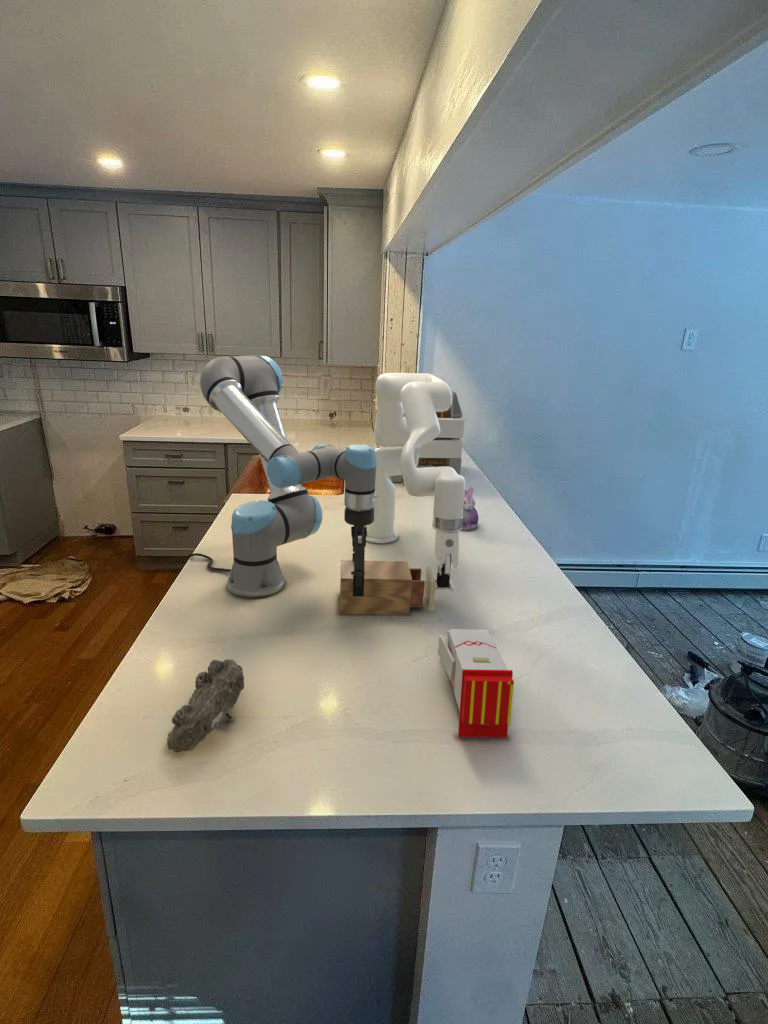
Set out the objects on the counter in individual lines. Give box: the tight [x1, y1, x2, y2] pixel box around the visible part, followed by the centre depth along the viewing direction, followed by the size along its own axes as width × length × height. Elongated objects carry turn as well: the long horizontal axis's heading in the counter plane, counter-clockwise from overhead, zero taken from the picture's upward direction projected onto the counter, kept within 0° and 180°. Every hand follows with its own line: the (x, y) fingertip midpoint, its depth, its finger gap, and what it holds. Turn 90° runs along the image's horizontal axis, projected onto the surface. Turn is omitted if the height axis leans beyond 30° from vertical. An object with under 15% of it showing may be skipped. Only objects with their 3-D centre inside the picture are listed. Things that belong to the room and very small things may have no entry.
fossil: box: [166, 658, 245, 754], centre depth 106 cm, size 22×10×15 cm
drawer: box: [409, 565, 455, 611], centre depth 151 cm, size 22×10×8 cm, turn 94°
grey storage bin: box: [389, 390, 465, 483], centre depth 268 cm, size 34×33×41 cm
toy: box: [437, 628, 515, 738], centre depth 117 cm, size 12×13×30 cm
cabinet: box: [339, 559, 412, 616], centre depth 150 cm, size 18×11×10 cm, turn 94°
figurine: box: [461, 486, 480, 531], centre depth 207 cm, size 9×10×15 cm
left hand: (357, 585), depth 150 cm, fingers closed on cabinet, 11 cm apart
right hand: (442, 586), depth 151 cm, fingers closed
